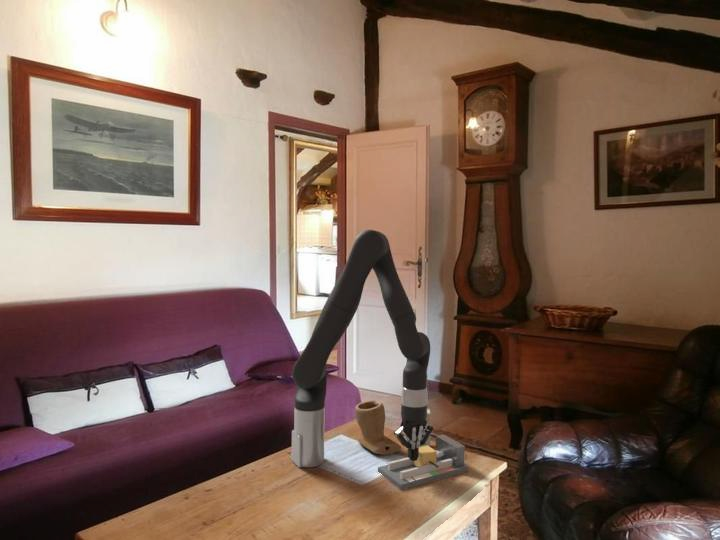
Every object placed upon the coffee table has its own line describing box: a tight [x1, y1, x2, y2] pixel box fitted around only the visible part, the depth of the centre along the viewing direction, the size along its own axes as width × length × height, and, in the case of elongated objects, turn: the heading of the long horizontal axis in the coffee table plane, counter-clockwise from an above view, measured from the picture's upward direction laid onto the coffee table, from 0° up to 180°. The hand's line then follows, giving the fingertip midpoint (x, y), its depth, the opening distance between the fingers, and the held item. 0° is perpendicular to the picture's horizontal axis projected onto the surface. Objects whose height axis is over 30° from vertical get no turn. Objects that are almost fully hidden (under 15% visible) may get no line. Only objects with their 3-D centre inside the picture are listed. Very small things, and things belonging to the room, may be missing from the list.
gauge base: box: [377, 451, 469, 491], centre depth 155 cm, size 24×12×4 cm, turn 119°
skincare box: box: [420, 408, 431, 447], centre depth 172 cm, size 6×4×12 cm
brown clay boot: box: [354, 400, 403, 456], centre depth 171 cm, size 15×12×15 cm
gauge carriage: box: [413, 446, 444, 468], centre depth 154 cm, size 9×9×5 cm
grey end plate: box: [435, 434, 466, 468], centre depth 159 cm, size 3×10×6 cm, turn 29°
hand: (413, 459), depth 152 cm, fingers closed
